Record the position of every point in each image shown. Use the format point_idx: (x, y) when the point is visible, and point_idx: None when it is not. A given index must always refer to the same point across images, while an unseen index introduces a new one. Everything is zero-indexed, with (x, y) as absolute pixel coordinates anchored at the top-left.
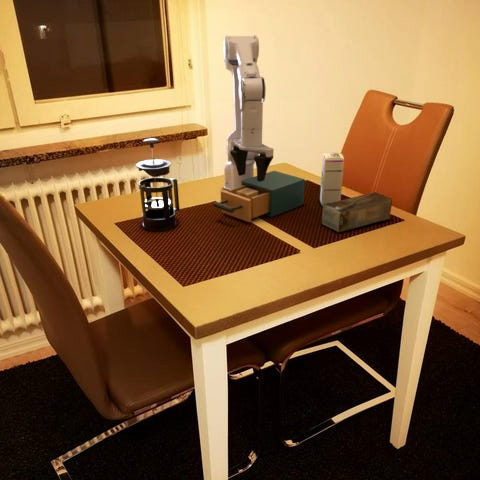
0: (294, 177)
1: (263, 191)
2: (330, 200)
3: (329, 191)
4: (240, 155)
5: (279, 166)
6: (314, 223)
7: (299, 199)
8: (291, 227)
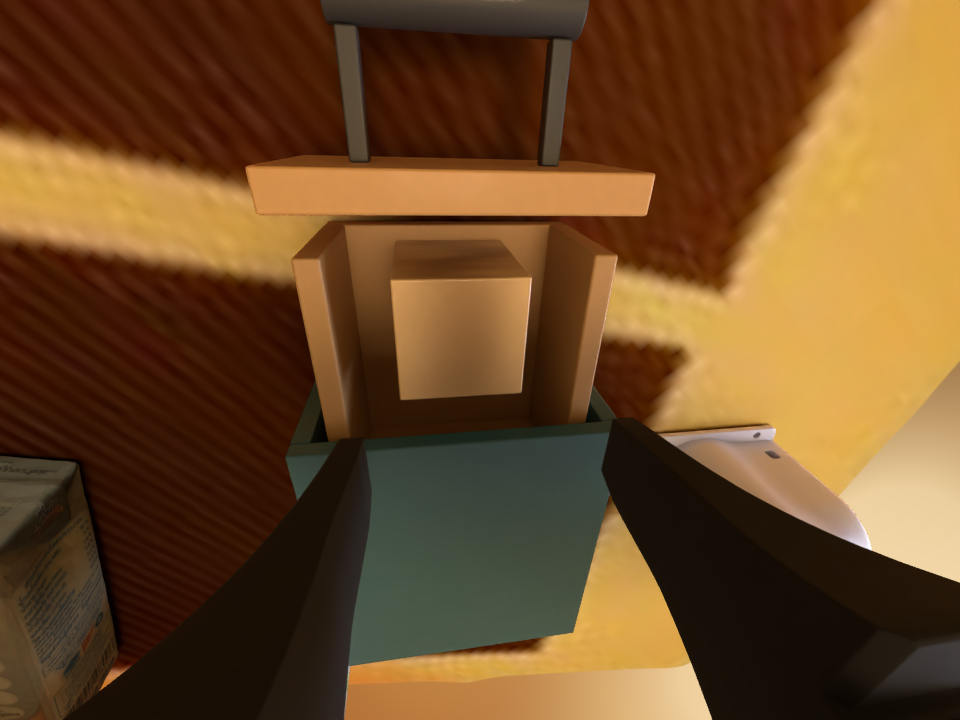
0: (406, 648)
1: None
2: None
3: None
4: (760, 636)
5: None
6: (115, 444)
7: None
8: (118, 327)
